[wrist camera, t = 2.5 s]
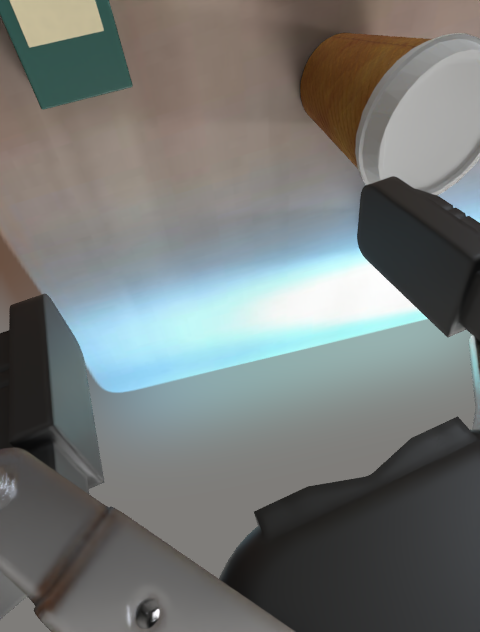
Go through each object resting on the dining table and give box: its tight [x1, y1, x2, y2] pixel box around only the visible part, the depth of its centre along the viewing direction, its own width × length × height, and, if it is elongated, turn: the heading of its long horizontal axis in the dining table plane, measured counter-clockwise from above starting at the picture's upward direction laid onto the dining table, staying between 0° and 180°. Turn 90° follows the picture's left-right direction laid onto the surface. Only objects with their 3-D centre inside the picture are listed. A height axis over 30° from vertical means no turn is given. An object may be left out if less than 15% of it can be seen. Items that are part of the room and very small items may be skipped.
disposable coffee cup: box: [300, 33, 480, 195], centre depth 29 cm, size 10×10×12 cm
